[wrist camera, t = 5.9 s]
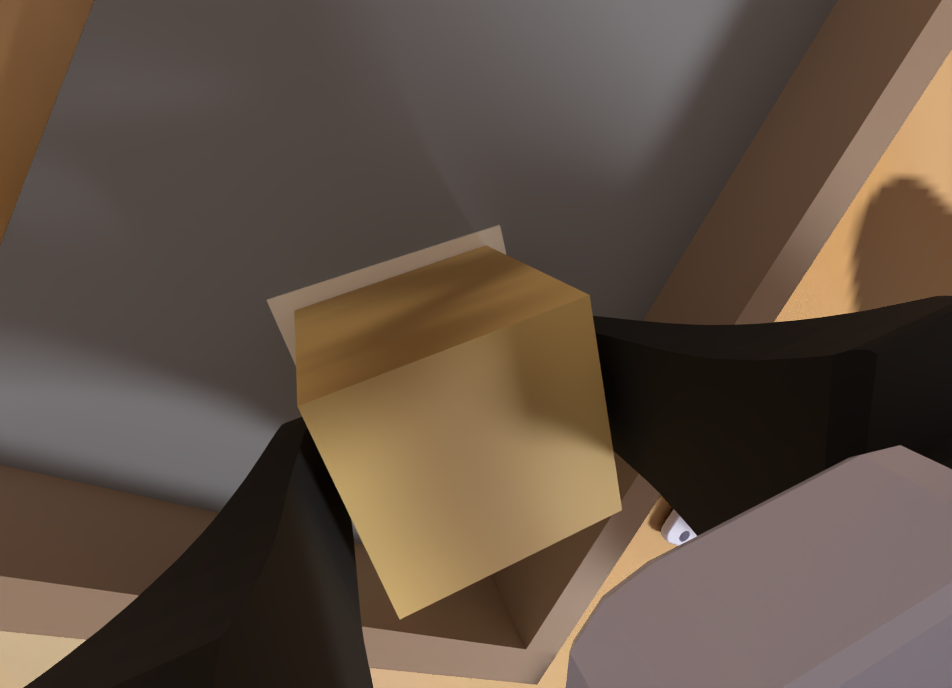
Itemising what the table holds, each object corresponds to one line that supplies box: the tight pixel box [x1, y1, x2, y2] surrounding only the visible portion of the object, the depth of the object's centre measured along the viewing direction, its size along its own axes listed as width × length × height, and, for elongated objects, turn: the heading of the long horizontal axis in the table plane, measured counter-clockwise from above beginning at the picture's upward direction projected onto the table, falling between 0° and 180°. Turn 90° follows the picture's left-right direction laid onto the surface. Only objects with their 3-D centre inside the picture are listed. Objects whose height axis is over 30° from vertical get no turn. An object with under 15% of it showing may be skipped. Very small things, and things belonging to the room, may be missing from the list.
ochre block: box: [294, 245, 622, 619], centre depth 11 cm, size 5×5×5 cm
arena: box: [0, 0, 952, 685], centre depth 11 cm, size 16×24×4 cm, turn 149°
